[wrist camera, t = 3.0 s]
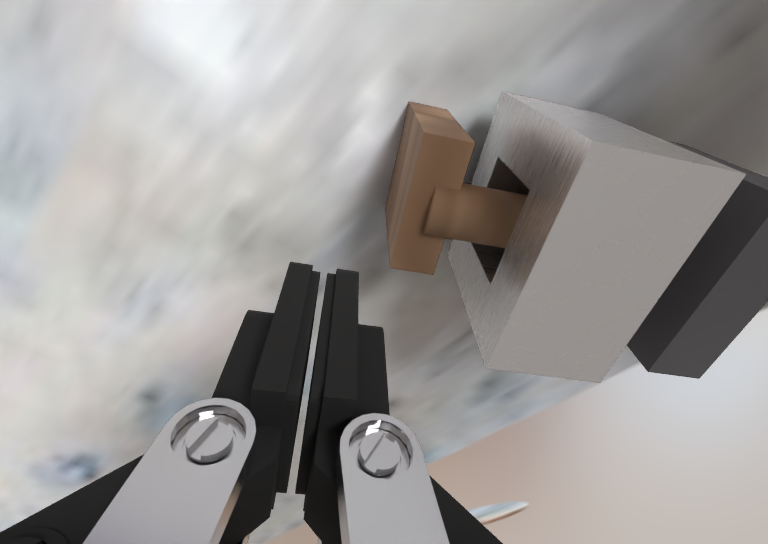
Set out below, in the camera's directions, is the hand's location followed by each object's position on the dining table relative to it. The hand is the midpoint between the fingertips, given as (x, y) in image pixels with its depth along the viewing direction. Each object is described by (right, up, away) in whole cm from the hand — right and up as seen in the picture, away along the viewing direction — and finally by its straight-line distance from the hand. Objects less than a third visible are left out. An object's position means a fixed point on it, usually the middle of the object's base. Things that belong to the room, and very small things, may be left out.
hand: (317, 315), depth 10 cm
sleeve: (+9, +5, +11) cm, 15 cm away
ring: (+15, +4, +12) cm, 19 cm away
